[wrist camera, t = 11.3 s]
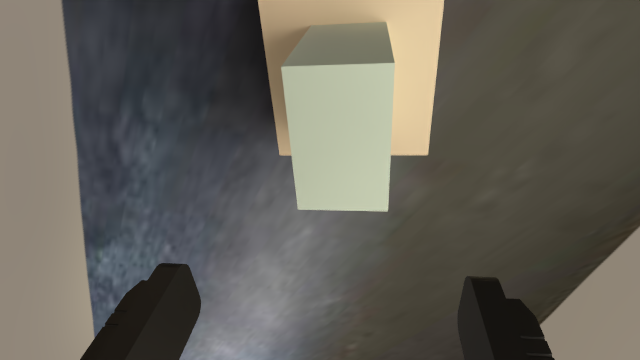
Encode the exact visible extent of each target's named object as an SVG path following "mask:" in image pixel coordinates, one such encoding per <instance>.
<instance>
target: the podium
mask: <svg viewBox="0 0 640 360" xmlns="http://www.w3.org/2000/svg"><path fill="white" fill-rule="evenodd" d="M258 5H259V12H260V19H261V26H262V33H263V40H264V47H265V54H266V61H267V69H268V76H269V83H270V90H271V97H272V104H273V111H274V118H275V125H276V132H277V139H278V146H279V153H280V155H291V146H290V138H289V129H288V121H287V113H286V104H285V96H284V87H283V79H282V70H281V66H282V65H283V63H284V62H285V61H286V59H287V58H288V56H289V55H290V54H291V52H292V51H293V50H294V48H295V47H296V46H297V44H298V43H299V42H300V40H301V39H302V37H303V36H304V35H305V33H306V32H307V31H308V29H309V28H310V27H311V25H330V24H351V23H373V22H387V27H388V32H389V37H390V42H391V47H392V51H393V56H394V61H395V70H394V92H393V113H392V135H391V155H428V148H429V139H430V129H431V120H432V110H433V101H434V91H435V82H436V72H437V63H438V53H439V44H440V34H441V25H442V15H443V6H444V0H258Z"/></svg>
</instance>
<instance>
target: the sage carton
mask: <svg viewBox="0 0 640 360" xmlns="http://www.w3.org/2000/svg"><path fill="white" fill-rule="evenodd" d="M281 70H282V79H283V87H284V96H285V104H286V113H287V121H288V129H289V138H290V146H291V155H292V163H293V171H294V180H295V188H296V197H297V205H298V210H346V211H388V200H389V178H390V157H391V135H392V113H393V92H394V70H395V61H394V56H393V51H392V47H391V42H390V37H389V32H388V27H387V22H373V23H351V24H330V25H311V27H310V28H309V29H308V31H307V32H306V33H305V35H304V36H303V37H302V39H301V40H300V42H299V43H298V44H297V46H296V47H295V48H294V50H293V51H292V52H291V54H290V55H289V56H288V58H287V59H286V61H285V62H284V63H283V65H282V66H281Z"/></svg>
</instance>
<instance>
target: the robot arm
mask: <svg viewBox="0 0 640 360" xmlns="http://www.w3.org/2000/svg"><path fill="white" fill-rule="evenodd" d="M200 308H201V299H200V295H199V292H198V290H197V287H196V284H195V281H194V279H193V276H192V273H191V270H190V268H189V266H188V265H187V264H172V263H161V264H159V265H158V266H157V267H156V268H155V270H154V271H153V273H152V274H151V276H150V277H149V279H148V280H147V281H145V280H142V281H140V282H139V283H138V284H137V285H136V286H134V287H133V288H132V289H131V290H130V291H129V292H127V293H126V294H125V296H124V297H123V299H122V300H121V301H120V303H119V304H118V306H117V307H116V309H115V312H114V313H112V314H111V316H110V317H109V319H108V320H107V322H106V323H105V327H102V329H101V330H100V332H99V333H98V334H97V336H96V337H95V339H94V340H93V342H92V343H91V345H90V346H89V347H88V349H87V350H86V352H85V353H84V355H83V356H82V358H81V359H80V360H179V358H180V356H181V354H182V352H183V350H184V348H185V345H186V343H187V341H188V339H189V337H190V334H191V332H192V330H193V328H194V326H195V324H196V321H197V319H198V317H199V313H200ZM458 331H459V337H460V341H461V345H462V350H463V354H464V359H465V360H555V359H554V358H552V353H551V350H550V348H549V346H548V344H547V341H545V339H544V335H543V332H542V330H541V328H540V325H539V323H538V321H537V319H536V317H535V315H534V314H533V313H532V312H531V311H530V310H529V309H528V308H527V307H526V306H525V305H524V303H523V302H522V301H521V300H520V299H506V297H505V295H504V292H503V290H502V287H501V284H500V282H499V280H498V279H497V278H496V277H473V276H467V277H466V278H465V281H464V286H463V291H462V295H461V300H460V305H459V309H458Z"/></svg>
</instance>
